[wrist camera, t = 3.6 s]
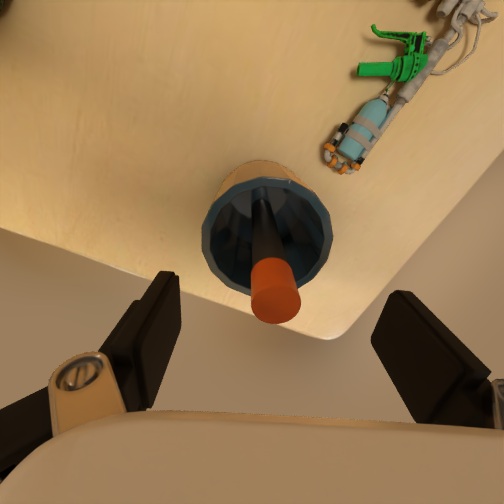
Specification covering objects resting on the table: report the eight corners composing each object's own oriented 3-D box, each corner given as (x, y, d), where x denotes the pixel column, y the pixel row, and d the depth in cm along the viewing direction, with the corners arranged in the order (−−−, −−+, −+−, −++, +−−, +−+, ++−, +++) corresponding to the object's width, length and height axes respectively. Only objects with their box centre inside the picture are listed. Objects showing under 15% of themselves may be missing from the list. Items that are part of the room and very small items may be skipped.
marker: (249, 218, 24) (248, 322, 11) (251, 196, 23) (253, 283, 10) (271, 220, 24) (296, 326, 11) (274, 198, 23) (305, 287, 10)
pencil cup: (216, 242, 26) (201, 292, 18) (219, 155, 22) (201, 170, 14) (296, 248, 26) (316, 300, 18) (312, 165, 22) (348, 184, 14)
